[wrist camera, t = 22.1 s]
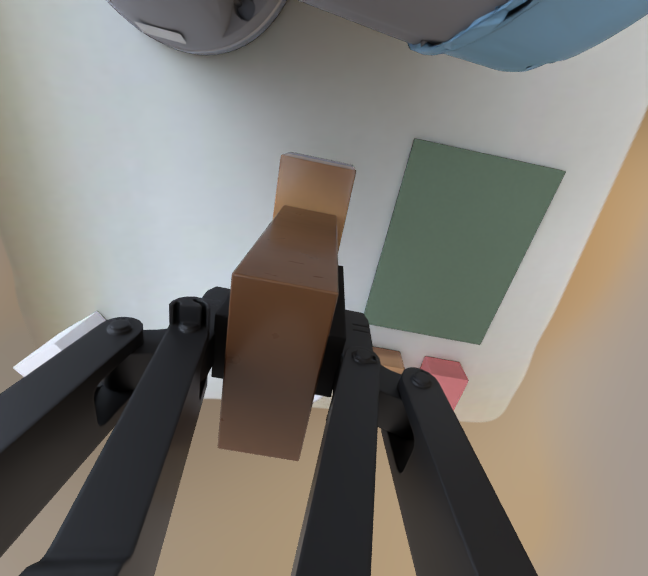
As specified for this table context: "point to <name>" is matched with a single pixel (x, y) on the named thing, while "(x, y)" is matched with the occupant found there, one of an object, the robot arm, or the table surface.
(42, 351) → the white cube
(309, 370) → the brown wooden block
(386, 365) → the cork block
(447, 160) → the desk mat
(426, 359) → the eraser block
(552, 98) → the table surface
